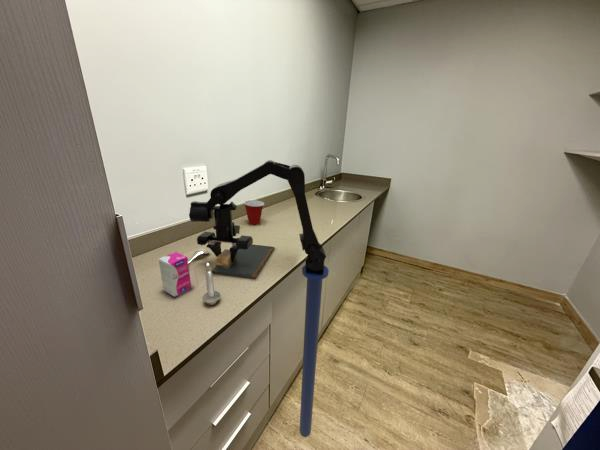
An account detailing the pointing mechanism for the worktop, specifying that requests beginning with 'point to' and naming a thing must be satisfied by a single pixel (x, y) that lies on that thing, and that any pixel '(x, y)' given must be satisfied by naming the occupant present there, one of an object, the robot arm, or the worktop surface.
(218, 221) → the robot arm
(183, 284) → the supplement box
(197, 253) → the metal serving spoon
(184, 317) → the worktop surface
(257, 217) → the plastic cup
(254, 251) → the chalkboard
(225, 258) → the wooden block
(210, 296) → the screw
